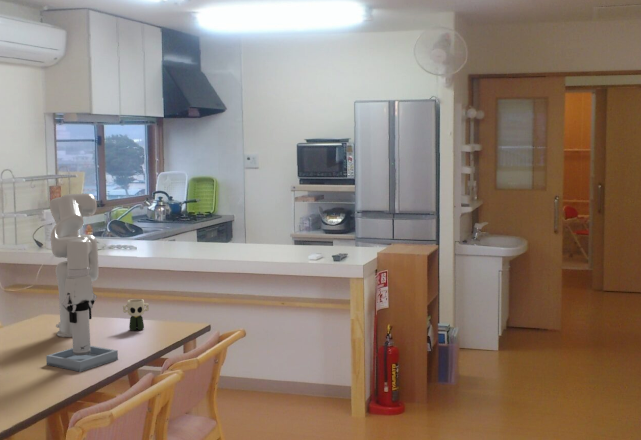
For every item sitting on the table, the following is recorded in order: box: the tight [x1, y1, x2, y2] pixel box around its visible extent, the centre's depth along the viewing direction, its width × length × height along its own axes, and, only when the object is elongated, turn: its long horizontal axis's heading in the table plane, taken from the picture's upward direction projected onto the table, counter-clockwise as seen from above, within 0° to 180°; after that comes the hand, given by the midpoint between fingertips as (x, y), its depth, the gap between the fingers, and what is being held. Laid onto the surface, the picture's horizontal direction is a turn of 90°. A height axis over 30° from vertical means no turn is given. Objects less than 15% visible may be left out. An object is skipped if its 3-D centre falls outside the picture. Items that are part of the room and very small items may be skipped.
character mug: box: [122, 298, 150, 331], centre depth 336 cm, size 11×7×13 cm, turn 106°
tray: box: [45, 345, 119, 373], centre depth 287 cm, size 18×18×4 cm
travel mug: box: [71, 300, 91, 356], centre depth 286 cm, size 6×7×20 cm
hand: (80, 320), depth 286 cm, fingers closed on travel mug, 6 cm apart
